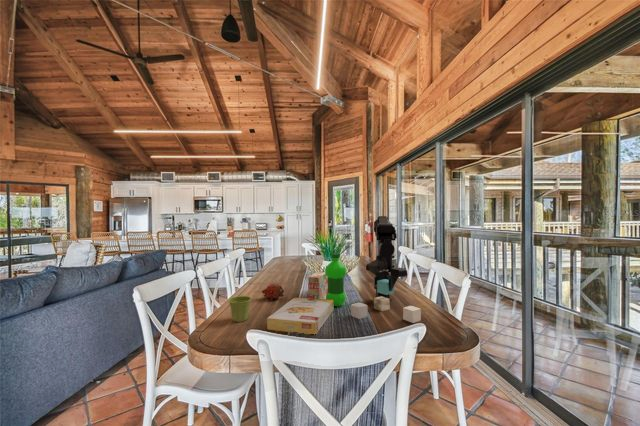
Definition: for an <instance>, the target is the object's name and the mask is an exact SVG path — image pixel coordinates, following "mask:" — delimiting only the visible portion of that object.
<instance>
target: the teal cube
mask: <svg viewBox="0 0 640 426" xmlns="http://www.w3.org/2000/svg"><path fill="white" fill-rule="evenodd" d="M376 286H377V292H378V293H381V294H385V295H388V294H390V295H392V294H395V286H394V287H393V289H392V291H389V280H387V279H383V280H378V281H377V285H376Z"/></svg>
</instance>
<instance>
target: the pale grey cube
mask: <svg viewBox="0 0 640 426" xmlns="http://www.w3.org/2000/svg"><path fill="white" fill-rule="evenodd" d="M350 316H351V317H353V318H355V319H358V320H361V319H363V318H367V317H368V305H367V304H365V303H362V302H359V301H358V302H355V303H351V304H350Z"/></svg>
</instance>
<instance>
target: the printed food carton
mask: <svg viewBox="0 0 640 426" xmlns="http://www.w3.org/2000/svg"><path fill="white" fill-rule="evenodd" d="M307 280H308V283H307V288H308V292H307V295H308V296H307V298H310V299H321V298H322V297H323V298H325V297H326V296H325V295H326V294H327V292H328V277H327V276H326V274H325V272H323V271H321V272H318V271H316V272H314V273H313V274H312V273H311V275H309V276H307ZM324 296H325V297H324ZM323 298H322V299H323Z"/></svg>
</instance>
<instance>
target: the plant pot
mask: <svg viewBox="0 0 640 426" xmlns="http://www.w3.org/2000/svg"><path fill="white" fill-rule="evenodd" d="M251 301H252V297H251V296H246V295H239V296H234V297H231V298H229V299H228V303H229V306H230V311H231V317H232V322H237V323H242V322H245V321H246V320H248V318H249V310H250V303H251Z"/></svg>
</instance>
